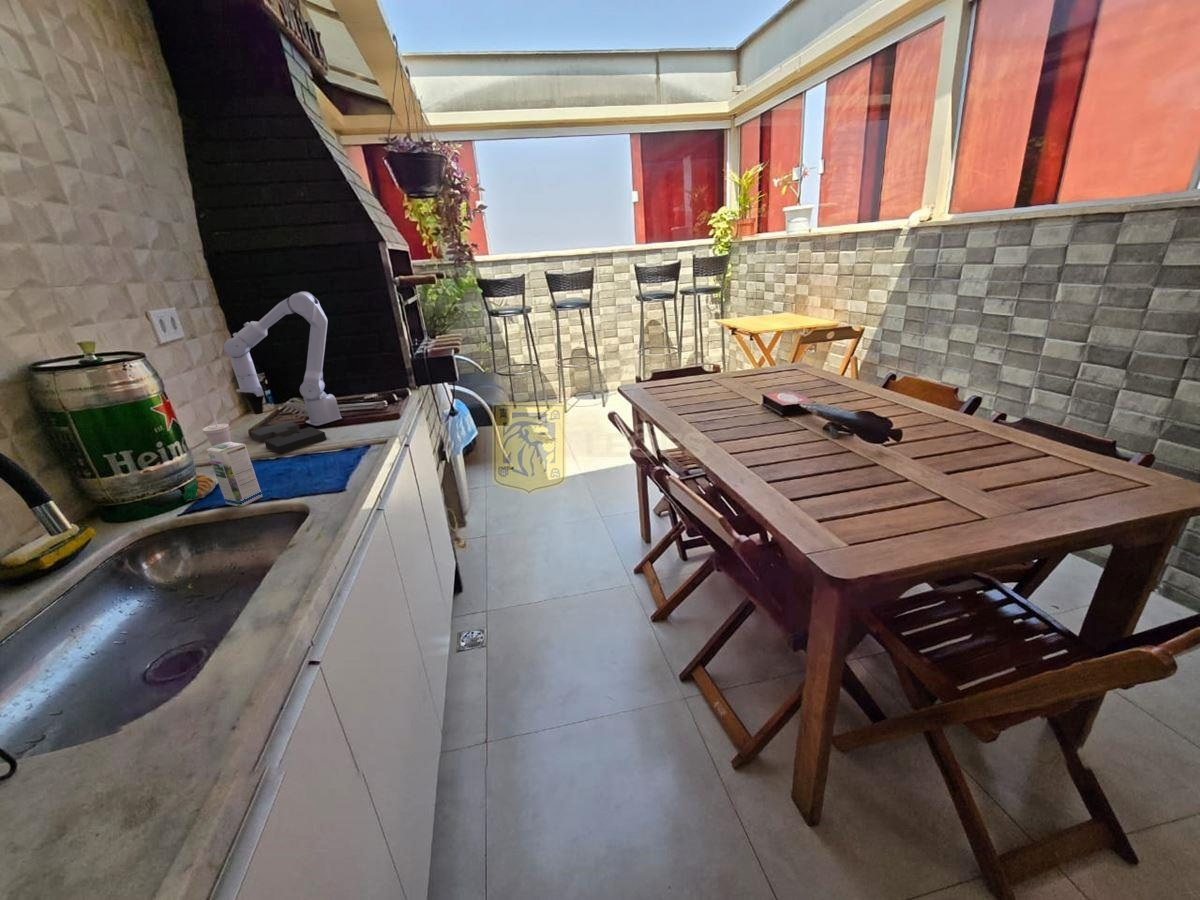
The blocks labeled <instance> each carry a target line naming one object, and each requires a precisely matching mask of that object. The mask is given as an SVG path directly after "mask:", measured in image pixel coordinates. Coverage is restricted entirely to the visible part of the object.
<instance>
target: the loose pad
mask: <svg viewBox="0 0 1200 900" xmlns="http://www.w3.org/2000/svg"><path fill="white" fill-rule="evenodd" d="M297 430H301V427H300V424H298V423H296V422H295V421H291V420H284V421H281V422H278V423H273V424H269V425H266V426H263V427H260V428H256V429H252V430H249V434H250V437H251V439H253V440H255V441H257V442H259V443H262V444H263V443H265V442H264V440H267V439H270V438H273V437H277V436H281V437H283V438H284V437H287V436H290V435H294V434H297V432H296V431H297Z"/></svg>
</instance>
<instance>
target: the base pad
mask: <svg viewBox="0 0 1200 900" xmlns="http://www.w3.org/2000/svg"><path fill="white" fill-rule="evenodd" d="M296 432H297V433H293V434H291V435H290V436H287V437H284V438H283V437H281V436H277V437H273V438H270V439H267V440H264V442H263V443H264V445H265V447H266V449H269V450H270V451H273V452H274V453H277V454H278V455H282V454H285V453H288V452H292V451H295V450H298V449H301V448H304V447H308V446H311V445H314V444H316V443H320V442H323V441H326V440H327V436H326V432H325V431H323V430H320V429H317V428H315V427H312V426H308V427H305V428H300V430H297V431H296Z"/></svg>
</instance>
